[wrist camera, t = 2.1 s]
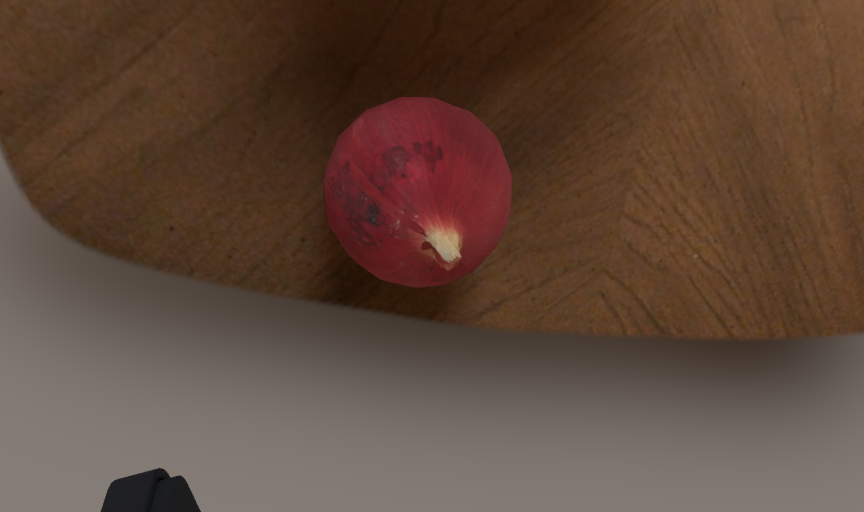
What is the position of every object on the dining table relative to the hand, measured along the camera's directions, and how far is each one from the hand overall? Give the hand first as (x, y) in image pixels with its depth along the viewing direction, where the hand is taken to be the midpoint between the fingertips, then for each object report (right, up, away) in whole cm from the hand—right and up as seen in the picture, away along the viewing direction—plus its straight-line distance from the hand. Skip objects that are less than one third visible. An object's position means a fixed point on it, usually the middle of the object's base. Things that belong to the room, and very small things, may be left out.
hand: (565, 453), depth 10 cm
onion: (-3, +6, +17) cm, 19 cm away
